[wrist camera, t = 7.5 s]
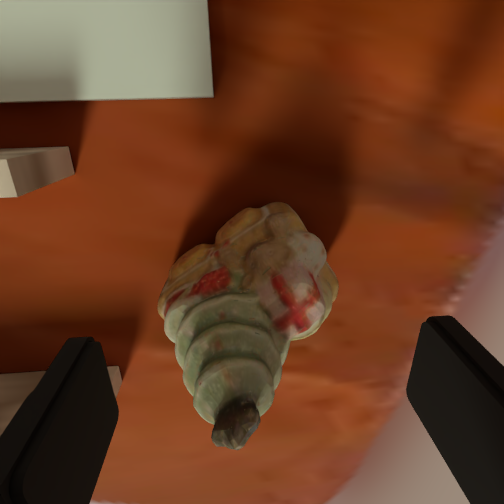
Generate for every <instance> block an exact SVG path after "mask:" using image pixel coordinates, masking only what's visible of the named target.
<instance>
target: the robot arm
mask: <svg viewBox="0 0 504 504" xmlns="http://www.w3.org/2000/svg"><path fill="white" fill-rule="evenodd" d="M406 391H407V397H408V399H409V401H410V403H411V405H412V407H413V408H414V410H415V412H416V413H417V415H418V416H419V418H420V420H421V422H422V423H423V425H424V427H425V428H426V430H427V432H428V433H429V435H430V437H431V438H432V440H433V442H434V443H435V445H436V447H437V448H438V450H439V452H440V454H441V455H442V457H443V458H444V460H445V462H446V463H447V465H448V467H449V469H450V470H451V472H452V474H453V475H454V477H455V479H456V480H457V482H458V484H459V486H460V487H461V489H462V491H463V492H464V494H465V495H466V497H467V499H468V500H469V502H470V504H504V366H503V365H502V364H501V363H499V361H497V359H496V358H495V357H494V356H493V355H491V354H490V353H489V352H488V351H487V350H486V349H485V348H484V347H483V346H482V345H481V344H480V343H479V342H478V341H477V340H476V339H475V338H474V337H473V336H472V335H471V334H470V333H469V332H468V331H467V330H466V329H465V328H464V327H463V326H462V325H461V324H460V323H459V322H458V321H457V320H456V319H455V318H453V317H452V316H432V317H429V318H428V319H427V321H426V322H423V323H422V325H421V329H420V333H419V337H418V341H417V346H416V350H415V354H414V358H413V362H412V367H411V371H410V375H409V379H408V383H407V388H406ZM118 414H119V410H118V405H117V401H116V398H115V394H114V391H113V387H112V383H111V380H110V376H109V372H108V369H107V365H106V361H105V358H104V354H103V350H102V347H101V344H100V342H95V341H94V339H93V338H92V337H77V338H69V339H68V340H67V341H66V342H65V344H64V345H63V347H62V348H61V350H60V351H59V353H58V354H57V356H56V357H55V359H54V360H53V362H52V363H51V365H50V366H49V368H48V369H47V371H46V372H45V374H44V375H43V377H42V378H41V380H40V381H39V383H38V385H37V386H36V388H35V389H34V391H32V392H31V393H30V394H29V395H28V396H27V397H26V399H25V400H24V402H23V403H22V405H21V406H20V408H19V409H18V411H17V412H16V414H15V415H14V417H13V418H12V420H11V421H10V423H9V424H8V426H7V427H6V428H5V430H4V431H3V433H2V434H1V436H0V504H89V503H90V500H91V497H92V494H93V491H94V488H95V485H96V483H97V480H98V477H99V474H100V471H101V468H102V465H103V462H104V459H105V456H106V453H107V450H108V448H109V445H110V442H111V439H112V436H113V433H114V430H115V427H116V424H117V421H118Z"/></svg>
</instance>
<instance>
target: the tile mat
mask: <svg viewBox="0 0 504 504" xmlns="http://www.w3.org/2000/svg"><path fill="white" fill-rule="evenodd" d="M179 98H214V90H213V75H212V59H211V43H210V28H209V12H208V0H0V103H21V102H60V101H100V100H139V99H179Z"/></svg>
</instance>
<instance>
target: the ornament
mask: <svg viewBox="0 0 504 504" xmlns="http://www.w3.org/2000/svg"><path fill="white" fill-rule="evenodd" d="M326 258H327V255H326V250H325V248H324V245H323V243H322V242H321V240H320V239H319V238H318V237H317V236H316V235H314V234H312V233H309V232H308V231H307V229H306V227H305V226H304V224H303V222H302V221H301V219H300V218H299V216H298V215H297V213H296V212H295V211H294V210H293V209H292V208H291V207H290V206H289V205H288V204H286V203H283V202H273V203H269V204H267V205H265V206H263V207H261V208H250V207H249V208H245V209H243V210H242V211H240V212H239V213H237V214H236V215H235V216H234V217H232V218H231V219H230V220H228V221H227V222H226V223H225V224H224V225H223V226H222V227H221V228H220V229H219V231H218V232H217V234H216V238H215V244H200V245H197V246H195V247H193V248H192V249H190V250H189V251H187V252H186V253H185V254H184V255H182V256H181V257H180V258H179V259H178V260H177V261H176V262H175V264H174V265H173V266H172V267H171V269H170V271H169V277H168V279H167V281H166V283H165V285H164V287H163V289H162V292H161V294H160V297H159V300H158V312H159V314H160V316H161V317H162V318H163V319H164V320H165V323H164V330H165V333H166V335H167V336H168V337H169V339H170V340H171V341H173V342H174V343H176V344H175V354H176V358H177V361H178V363H179V365H180V366H181V367H182V369H183V381H184V384H185V386H186V388H187V389H188V391H189V392H190V394H191V395H192V396H194V397H193V405H194V407H195V409H196V410H197V412H198V413H199V415H200V416H201V417H202V418H203V419H205V420H206V421H207V422H209V423H212V424H214V428H213V431H212V437H211V438H212V441H213V443H214V444H215V445H216V446H224V447H227V448H229V449H235V450H239V449H241V448H242V447H243V446H244V445H245V443H246V442H247V440H248V439H249V437H250V436H251V435H252V434H253V432H254V431H255V430H256V429H257V428H258V425H259V423H260V416H262V415H263V414H264V413H265V412H266V411H267V410H268V409H269V408H270V406H271V404H272V402H273V398H274V395H275V394H274V390H275V389H276V388H277V386H278V384H279V382H280V379H281V375H282V365H283V363H284V361H285V359H286V357H287V353H288V349H289V345H290V341H292V340H298V339H304V338H306V337H308V336H310V335H312V334H313V333H315V332H316V331H317V330H318V329H319V327H320V325H321V324H322V323H323V321H324V320H325V319H326V318H327V316H328V315H329V313H330V310H331V307H332V302H333V301H334V300H335V299H336V297H337V294H338V287H339V286H338V280H337V278H336V275H335V273H334V272H333V270H332V269H331V267H330V266H329V265H328V263H327V262H326Z"/></svg>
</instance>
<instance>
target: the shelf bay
mask: <svg viewBox="0 0 504 504" xmlns="http://www.w3.org/2000/svg"><path fill="white" fill-rule="evenodd" d="M74 174H75V173H74V169H73V164H72V160H71V155H70V151H69V147H68V146H67V147H37V148H6V149H0V198H3V197H19V196H21V195H24V194H26V193H29V192H31V191H34V190H36V189H39V188H41V187H44V186H46V185H49V184H51V183H54V182H56V181H59V180H61V179H64V178H66V177H69V176H71V175H74ZM107 369H108V372H109V376H110V380H111V383H112V387H113V391H114V394H115V398H116V397H117V394H118V391H119V389H120V386H121V384H122V379H121V374H120V370H119V366H109V367H107ZM45 372H46V371H38V372H24V373H9V374H0V436H1V434H2V433H3V431H4V430H5V428H6V427H7V426H8V424H9V423H10V421H11V420H12V418H13V417H14V415H15V414H16V412H17V411H18V409H19V408H20V406H21V405H22V403H23V402H24V400H25V399H26V397H27V396H28V395H29V394H30V393H31V392H32V391H34V389H35V388H36V386H37V385H38V383H39V381H40V380H41V378H42V377H43V375H44V374H45Z"/></svg>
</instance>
